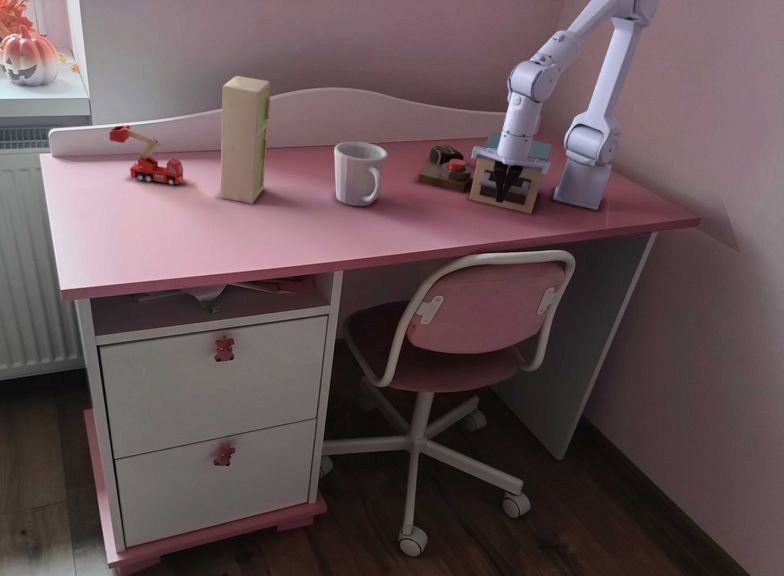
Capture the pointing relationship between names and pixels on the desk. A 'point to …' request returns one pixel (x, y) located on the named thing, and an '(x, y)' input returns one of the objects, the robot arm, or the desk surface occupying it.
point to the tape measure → (444, 154)
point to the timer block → (445, 177)
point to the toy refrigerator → (244, 138)
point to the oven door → (516, 197)
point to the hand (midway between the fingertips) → (499, 200)
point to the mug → (358, 172)
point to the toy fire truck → (148, 159)
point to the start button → (457, 165)
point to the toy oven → (535, 150)
